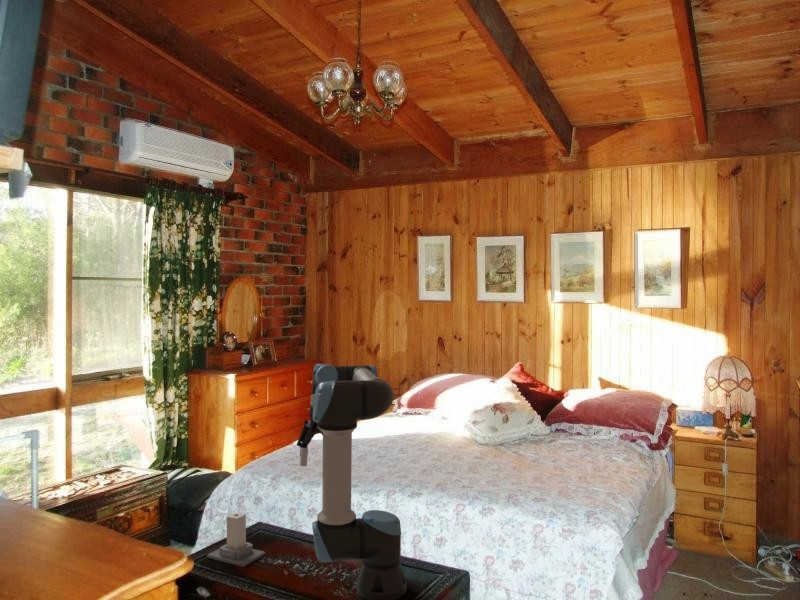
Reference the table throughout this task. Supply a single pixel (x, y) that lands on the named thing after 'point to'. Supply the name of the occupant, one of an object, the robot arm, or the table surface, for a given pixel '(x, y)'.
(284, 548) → the table surface
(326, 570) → the table surface
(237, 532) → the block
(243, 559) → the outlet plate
